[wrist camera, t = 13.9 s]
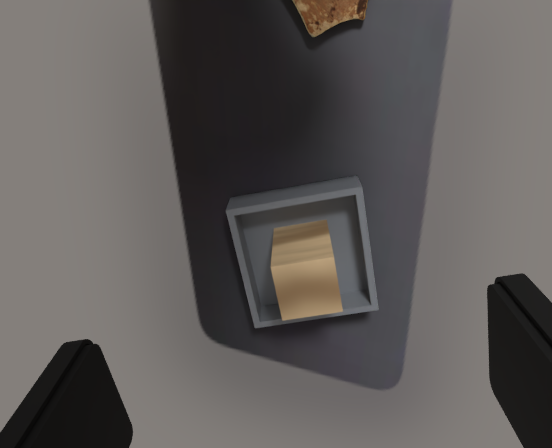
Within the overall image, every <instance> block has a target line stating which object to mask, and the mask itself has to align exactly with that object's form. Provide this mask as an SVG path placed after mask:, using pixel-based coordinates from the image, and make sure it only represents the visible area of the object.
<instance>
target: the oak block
mask: <svg viewBox="0 0 552 448" xmlns="http://www.w3.org/2000/svg"><path fill="white" fill-rule="evenodd" d="M271 271H272V276H273V280H274V285H275V289H276V294H277V298H278V303H279V308H280V312H281V317H282V321H284V320H291V319H297V318H304V317H311V316H317V315H324V314H331V313H337V312H343V309H342V303H341V297H340V291H339V284H338V278H337V272H336V266H335V260H334V255H333V249H332V244H331V239H330V234H329V229H328V224H327V219H326V220H320V221H314V222H308V223H302V224H297V225H291V226H285V227H279V228H274V233H273V244H272V256H271Z"/></svg>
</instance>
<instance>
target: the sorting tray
mask: <svg viewBox="0 0 552 448" xmlns="http://www.w3.org/2000/svg"><path fill="white" fill-rule="evenodd" d="M226 214H227V218H228V222H229V226H230V230H231V234H232V238H233V242H234V246H235V250H236V254H237V258H238V262H239V266H240V270H241V274H242V278H243V283H244V287H245V291H246V295H247V299H248V303H249V307H250V311H251V315H252V319H253V323H254V327H255V328H261V327H268V326H274V325H281V324H288V323H294V322H301V321H308V320H314V319H321V318H328V317H334V316H341V315H348V314H355V313H361V312H368V311H375V310H379V309H378V301H377V294H376V286H375V279H374V271H373V264H372V256H371V249H370V241H369V234H368V226H367V219H366V212H365V204H364V197H363V189H362V185H361V183H360V181H359V179H358V177H357V175H354V176H349V177H343V178H337V179H332V180H326V181H320V182H315V183H309V184H303V185H298V186H292V187H287V188H281V189H275V190H270V191H264V192H258V193H253V194H247V195H241V196H236V197H230V200H229V203H228V205H227V208H226ZM326 219H327V224H328V229H329V234H330V239H331V244H332V249H333V255H334V260H335V266H336V272H337V278H338V284H339V291H340V297H341V303H342V309H343V312H337V313H331V314H324V315H317V316H311V317H304V318H297V319H291V320H284V321H282V317H281V312H280V308H279V303H278V298H277V294H276V289H275V285H274V280H273V276H272V271H271V256H272V244H273V233H274V228H279V227H285V226H291V225H297V224H302V223H308V222H314V221H320V220H326Z"/></svg>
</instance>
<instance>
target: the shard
mask: <svg viewBox="0 0 552 448" xmlns="http://www.w3.org/2000/svg"><path fill="white" fill-rule="evenodd" d="M292 1H293V3H294V4H295V6H296V8H297V10H298V12H299V14H300V16H301V18H302V20H303V22H304V24H305V27H306V29H307V31H308V32H309V34H310V35H311V36H312V37H316V36H318V35H319V34H322V33H323V32H324V31H325V30H328V29H329V28H331V27H333V26H335V25H337V24H339V23H341V22H345V21H348V20H352V19H360V20H364V19H365V11H366V8H367V2H368V0H292Z"/></svg>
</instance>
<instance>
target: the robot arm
mask: <svg viewBox="0 0 552 448" xmlns="http://www.w3.org/2000/svg"><path fill="white" fill-rule="evenodd" d="M487 299H488V334H489V335H488V338H489V376H490V383H491V387H492V390H493V392H494V395H495V397H496V398H497V400H498V402H499V404H500V405H501V407H502V409H503V411H504V413H505V415H506V416H507V418H508V420H509V422H510V424H511V425H512V427H513V429H514V431H515V433H516V435H517V436H518V438H519V440H520V442H521V444H522V445H523V447H524V448H552V303H551V302H550V301H549V299H548V298H547V297H546V296H545V295H544V294H543V293H542V292H541V291H540V290H539V289H538V288H537V287H536V285H535V284H534V283H533V282H532V281H531V280H530V279H529V278H528V277H527V276H526V275H525V274H515V275H508V276H502V277H497V278H496V279H495V284H492V285H489V286H488V288H487ZM132 436H133V429H132V424H131V422H130V419H129V417H128V414H127V412H126V409H125V407H124V404H123V402H122V400H121V397H120V395H119V392H118V390H117V387H116V385H115V382H114V380H113V378H112V375H111V373H110V370H109V368H108V365H107V363H106V361H105V358H104V355H103V353H102V351H101V348H100V347H99V345H97V344H93V343H92V341H90V340H88V339H85V340H78V341H72V342H66V343H64V344H63V345H62V346H61V347H60V349H59V350H58V351H57V353H56V354H55V356H54V357H53V359H52V360H51V361H50V363H49V364H48V365H47V367H46V368H45V370H44V371H43V373H42V374H41V375H40V377H39V378H38V380H37V381H36V383H35V384H34V386H33V387H32V388H31V390H30V391H29V393H28V394H27V395H26V397H25V398H24V400H23V401H22V403H21V404H20V405H19V407H18V408H17V410H16V411H15V413H14V414H13V416H12V417H11V418H10V420H9V421H8V423H7V424H6V425H5V427H4V428H3V430H2V431H1V432H0V448H129V446H130V444H131V441H132Z"/></svg>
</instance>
